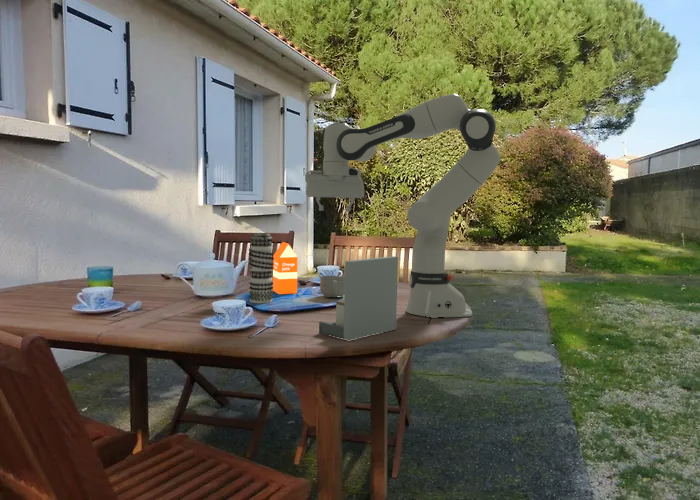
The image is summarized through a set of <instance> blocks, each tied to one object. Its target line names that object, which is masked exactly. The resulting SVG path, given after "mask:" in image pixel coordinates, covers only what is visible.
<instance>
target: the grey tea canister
mask: <svg viewBox="0 0 700 500" xmlns="http://www.w3.org/2000/svg"><path fill="white" fill-rule="evenodd" d="M335 303H336V305H335V306H336V309H335V310H336V311H335V322H336V325H338V326H342V327H344V300H342V299H341V300H338V301H335Z"/></svg>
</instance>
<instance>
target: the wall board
mask: <svg viewBox="0 0 700 500" xmlns="http://www.w3.org/2000/svg"><path fill="white" fill-rule="evenodd" d="M344 263H345V264H344V267H345V268H344V277H345V295H344V297H343V299H344V327H342V326H338V325H336V321H333V322H325V321H319V322H318V323H319V324H318V334H319V333H322V334H321V335H323V334H326V335H331V336H335V337H339V338H343V339H347V340H351V339H355V338H359V337H363V336H367V335H372V334H376V333H381V332H386V331H391V330H395V329H396V330H397V304H398V300H397V299H398V273H399V272H398V271H399V270H398V269H399V256H393V255H392V256H385V257H373V258H372V257H371V258H363V259H353V260H346V261H344ZM396 330H395V331H396ZM391 332H392V331H391ZM326 335H325V336H326Z"/></svg>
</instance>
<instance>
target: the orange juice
mask: <svg viewBox="0 0 700 500" xmlns="http://www.w3.org/2000/svg"><path fill="white" fill-rule="evenodd" d="M272 257H273V258H274V259H273V260H272V263H274V265H272V267H273V268H274V269H273V270H272V282H273V284H272V287H273V289H272V291H273V292H275V293H276V294H278V295H286V294H287V295H288V294H298V256H297V254H296V252H295V251H294V250H293V247H291V245H290V244H289V243H288V242H286V241H285V242H284V241H282V242H281V244H280V245H279V247H278V248H277V250H276V251H275V253H274V255H273V256H272Z"/></svg>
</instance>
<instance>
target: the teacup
mask: <svg viewBox="0 0 700 500" xmlns="http://www.w3.org/2000/svg"><path fill="white" fill-rule="evenodd" d="M319 277H320V281H319V283H320V284H319V291H320V293H321V294H322V295H323V296H324V297H325V298H329V297H337V296H342V297H344V296H345V276H342V275H328V274H326V275H321V276H319Z"/></svg>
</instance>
